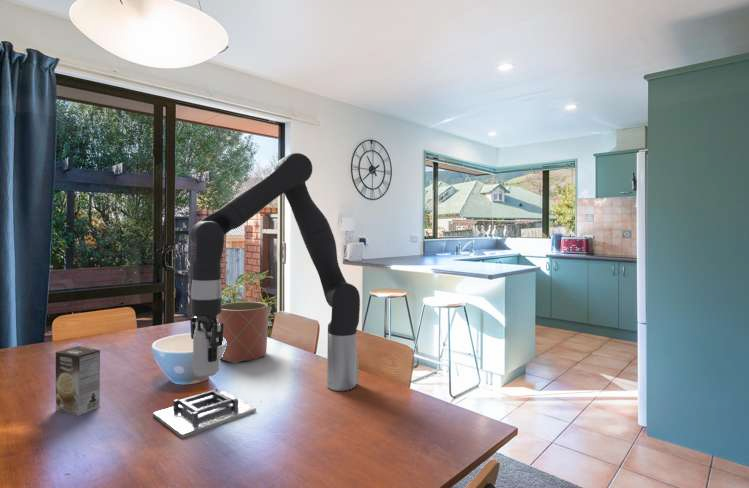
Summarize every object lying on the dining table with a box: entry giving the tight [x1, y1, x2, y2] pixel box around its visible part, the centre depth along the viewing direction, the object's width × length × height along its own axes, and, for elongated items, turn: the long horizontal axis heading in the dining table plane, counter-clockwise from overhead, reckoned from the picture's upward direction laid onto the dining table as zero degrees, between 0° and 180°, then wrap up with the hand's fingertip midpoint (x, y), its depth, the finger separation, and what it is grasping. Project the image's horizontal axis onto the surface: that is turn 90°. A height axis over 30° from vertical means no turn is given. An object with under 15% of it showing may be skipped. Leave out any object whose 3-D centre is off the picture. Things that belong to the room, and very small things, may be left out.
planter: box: [216, 301, 269, 364], centre depth 161 cm, size 19×19×20 cm
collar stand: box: [153, 387, 257, 439], centre depth 110 cm, size 20×17×4 cm
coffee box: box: [55, 345, 101, 417], centre depth 112 cm, size 9×6×16 cm
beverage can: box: [192, 329, 220, 378], centre depth 110 cm, size 6×6×12 cm
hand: (206, 358), depth 110 cm, fingers closed on beverage can, 6 cm apart
